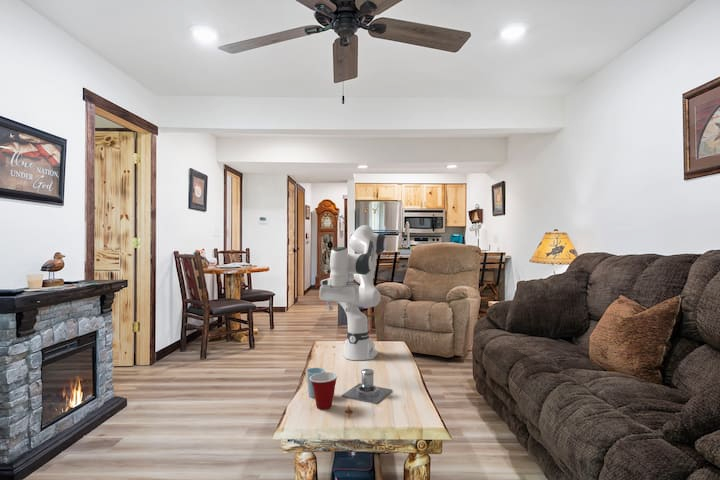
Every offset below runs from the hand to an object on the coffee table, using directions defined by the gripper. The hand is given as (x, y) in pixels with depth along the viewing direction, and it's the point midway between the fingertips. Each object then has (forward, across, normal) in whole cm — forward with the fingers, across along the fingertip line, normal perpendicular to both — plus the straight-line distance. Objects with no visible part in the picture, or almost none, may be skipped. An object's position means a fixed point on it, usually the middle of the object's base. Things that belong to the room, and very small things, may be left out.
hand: (339, 311), depth 189 cm
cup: (+31, -3, +24) cm, 40 cm away
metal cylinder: (+31, -21, +12) cm, 39 cm away
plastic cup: (+31, -12, +32) cm, 46 cm away
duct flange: (+31, -21, +12) cm, 39 cm away
